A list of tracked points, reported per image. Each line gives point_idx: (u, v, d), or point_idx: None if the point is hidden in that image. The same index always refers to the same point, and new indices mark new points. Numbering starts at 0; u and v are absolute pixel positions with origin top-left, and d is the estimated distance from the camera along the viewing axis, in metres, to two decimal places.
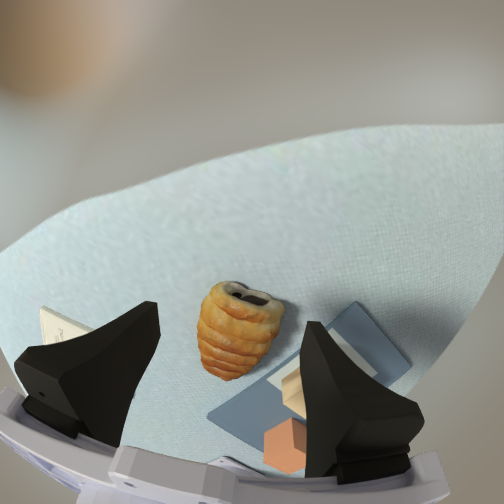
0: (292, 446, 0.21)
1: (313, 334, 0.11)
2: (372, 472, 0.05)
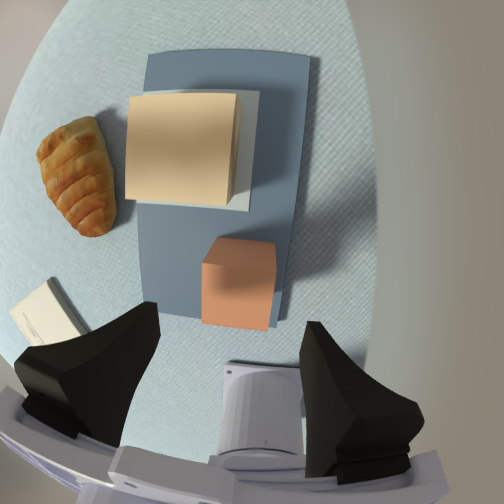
0: (202, 264, 0.15)
1: (313, 334, 0.11)
2: (372, 472, 0.05)
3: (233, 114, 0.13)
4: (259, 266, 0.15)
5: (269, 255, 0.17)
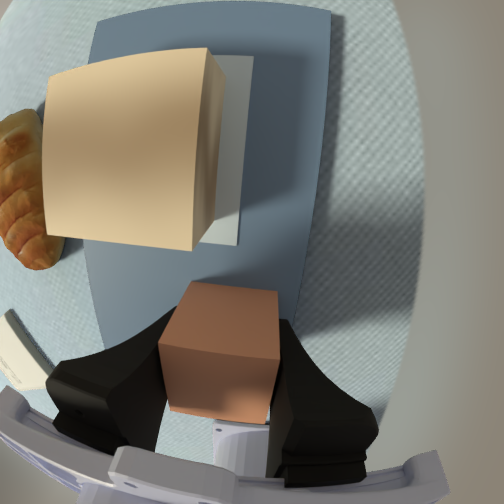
0: (160, 343, 0.09)
1: None
2: (321, 478, 0.05)
3: (202, 83, 0.06)
4: (252, 348, 0.09)
5: (268, 320, 0.10)
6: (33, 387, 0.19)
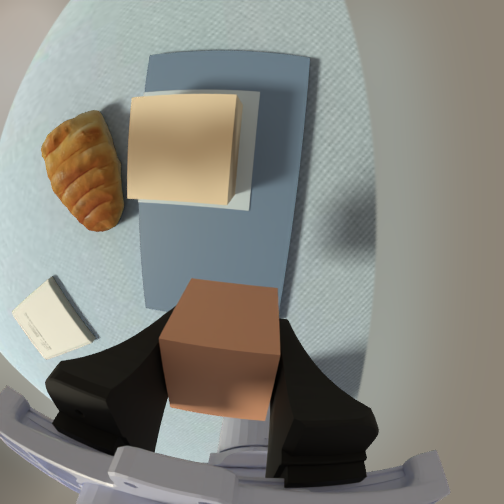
0: (161, 338, 0.09)
1: None
2: (321, 478, 0.05)
3: (234, 115, 0.13)
4: (253, 343, 0.09)
5: (268, 316, 0.10)
6: (63, 350, 0.25)
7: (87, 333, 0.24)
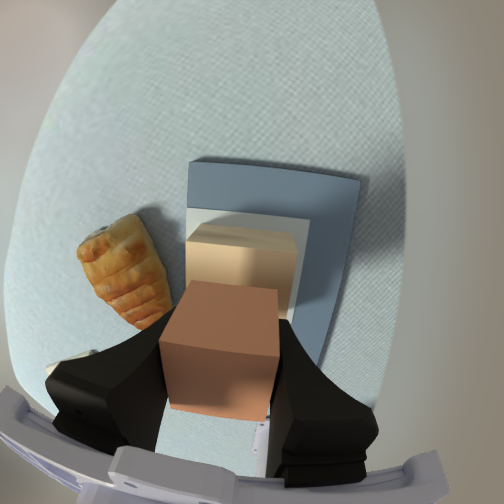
0: (161, 340, 0.09)
1: None
2: (321, 478, 0.05)
3: (293, 271, 0.15)
4: (252, 345, 0.09)
5: (268, 318, 0.10)
6: None
7: None
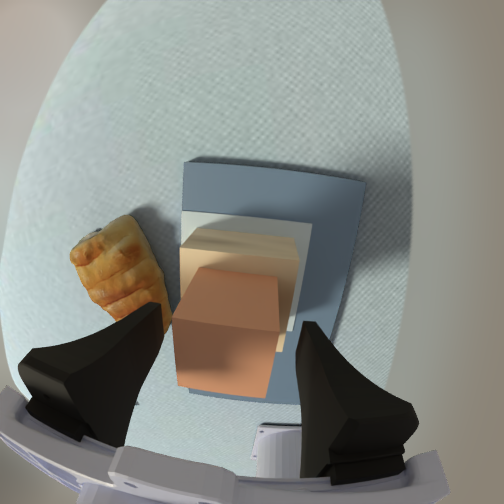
0: (173, 317, 0.10)
1: (308, 334, 0.11)
2: (366, 473, 0.05)
3: (295, 280, 0.14)
4: (255, 322, 0.10)
5: (269, 300, 0.12)
6: None
7: None
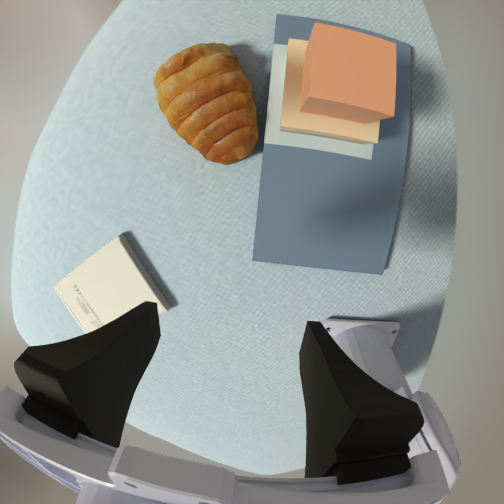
0: (313, 27, 0.09)
1: (313, 334, 0.11)
2: (372, 472, 0.05)
3: None
4: (376, 40, 0.09)
5: None
6: None
7: (162, 300, 0.24)
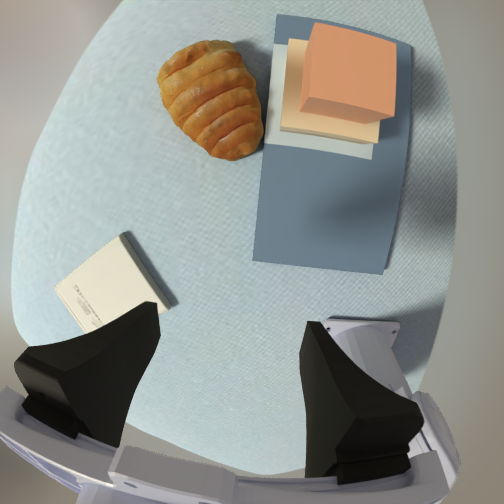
0: (313, 27, 0.09)
1: (313, 334, 0.11)
2: (372, 472, 0.05)
3: None
4: (376, 40, 0.09)
5: None
6: None
7: (163, 299, 0.24)
